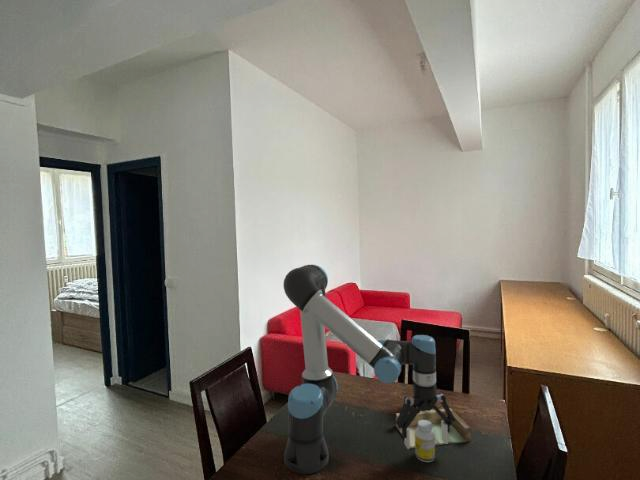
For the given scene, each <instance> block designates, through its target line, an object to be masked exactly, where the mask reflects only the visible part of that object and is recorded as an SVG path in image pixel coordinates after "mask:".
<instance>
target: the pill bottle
mask: <svg viewBox="0 0 640 480" xmlns="http://www.w3.org/2000/svg"><path fill="white" fill-rule="evenodd" d="M414 449H415V450H414V455H415V457H416V458H417V459H418V460H419V461H420V462H424V463H431V462H433V461H434V460H435V458H436V445H435V433H434V431H433V430H432V423H431V422H429V421H427V420H420V421H418V428H417V429H416V430H415V448H414Z"/></svg>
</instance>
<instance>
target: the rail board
mask: <svg viewBox="0 0 640 480" xmlns="http://www.w3.org/2000/svg"><path fill="white" fill-rule="evenodd" d="M438 409H439V410H440V411H441V412H442V413H443V414H444V415H445V416H446V417H448V415H447V414H446V412H445V410H444V408H438ZM449 409H450V411H451V412H452V414H453V416H454V418H455V421H454V422H453V421H452V422H451V425H450V432H449V433H448V444H447V445H449V444H451V445H452V444H458V443H467V442H471V439H472V438H471V437H472V436H471V432H472V431H471V427H470V426H469V425H468V424H467V422H466V421H465V420H464V419H462V418H461V417H460V416H459V415H458V414H457V413H456V412H455V411H454V410H453V409H452V408H450V407H449ZM409 412H410V411H409ZM409 412H408V413H409ZM399 414H400V412H398V413H395V422H396V421H397V419H398V416H399ZM420 420H427V421H429V422H431V423H432V430H433V431H434V433H435V446H441V445H442V446H443V445H446V444H445V442H444V441H443V440H442V427H441V421H444V420H443V418H442V417H441V416H440V415H439V414H438V413H437V412H436V411H435V410H434V409H432V410H430V411H428V410H426V411H420V413H419V414H417V415H416V417H415V418H414V419H413V421H412V422H411V424H410V425H409V426H408V429H409V436H410V449H415V430H416V429H417V428H418V421H420ZM395 426H396V428H397V430H398V431H399V433H400V435H402V428H399V427H398V426H397V424H396V423H395Z"/></svg>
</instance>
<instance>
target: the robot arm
mask: <svg viewBox="0 0 640 480" xmlns="http://www.w3.org/2000/svg"><path fill="white" fill-rule="evenodd" d="M328 283H329V277H328V274H327V272H326V271H325V270H324V268H323V267H321V266H319V265H316V264H305V265H302V266H299V267H295V268H293V269H291V270H290V271H288V272H287V274H286V275H285V277H284V279H283V290H284V294H285V296H286V297H287V298H288V300H289V301H290V302H291V303H292V304H293V305H294V306H295V307H296V308H297V309H298V310H299V312H300V323H301V324H300V325H301V334H302V336H301V337H302V346H303V356H304V358H303V359H304V365H305V367H304V368H305V369H304V370H303V371H302V373H301V377H302V378H301V379H302V383H301V384H300V385H296V386H295V387H294V388H292V389H291V391H290V392H289V394H288V397H287V398H288V401H287V410H288V412H287V413H288V415H287V416H288V419H287V420H288V439H287V442H286V447H285V449H284V452H283V459H284V464H285V467H286V468H287V469H288V470H289V471H291V472H293V473H296V474H299V475H310V474H311V475H312V474H314V473H317V472H320V471H322V470H324V468H325V467H327V465H328V463H329V460H330V459H329V455H330V453H329V449H328V445H327V443H326V440H325V437H324V416H325V414H326V413H327V412H328V411H329V408H330V407H331V405H332V403H333V402H334V401H335V399H336V397H337V394H338V388H339V386H338V381H337V379H336V377H335V376H334V373H333V369H331V368H330V367H329V363H328V362H329V361H328V352H327V342H326V331H325V330H326V329H327V330H328V331H329V332H330V333H331V334H333V335H334V336H335V337H336V338H337V339H339V340H340V341H341V342H342V343H343V344H344V345H346V346H347V348H349V349H350V350H352V351H353V352H354V353H355V354H357V356H359V358H361V359H362V360H363V361H364V362H366V363H367V364H368V365H369V366H370V367H371V368H372V369H373V370H374V375H375V377H376V378H377V379H378V381H380V382H382V383H383V384H392V383H394V382H396V380H398V378H399V376H400V375H401V372H402V366H403V365H412V375H413V380H412V390H413V397H408V396H405V397H404V399H403V401H404V402H403V404H402V407H401V409H400V412H399V413H400V414H399V416H398V419H397V421H396V420H395V425H396V424H397V426H398V427H399V428H402V434H401V436H402V438H403V440H404V442H403V443H404V446H405V447H406V449H407V450H410V449H411V448H410V436H409V429H408V426H409V425H410V424H411V422H412V421H413V419H414V418H415V417H416V415H417V414H419V413H420V411H426V410H428V411H430V410H431V409H432V408H433V409H432V410H435V411H436V412H437V413H438V414H439V415H440V416H441V417H442V418H443V420H444V421H441V427H442V440H443V441H444V442H445V444H444V445H449V444H448V433H449V432H450V425H451V422H452V421H453V422H454V421H455V418H454V416H453V414H452V412H451V411H450V409H449V408H450V407H449V405H448V402H447V399H446V395H444V394H443V393H442V392H439V394H438V393H437V355H436V354H437V353H436V352H437V349H436V341H435V339H434V338H433V337H432V336H429V335H428V334H426V335H425V334H416V335H413V336H412V338H411V341H406V340H397V339H396V340H395V339H394V340H393V339H379V340H378V339H376V338H375V337H374V336H373V335H372V334H370V333H369V332H368V331H366V329H365V328H363V327H362V326H361V325H360V324H358V323H357V322H356V321H355V320H354V319H353V318H351V317H350V316H349V315H348V314H347V313H346V312H344V311H343V310H341V308H339V307H338V306H337V305H335V304H334V303H333V302H332V301H331V300H330V299H329V298H327V295H326V288H327V286H328ZM413 381H414V382H413ZM437 402H440V404H441V406H442V409H444V410H445V412H446V414H447V415H448V417H446V416H445V415H444V414H443V413H442V412H441V411H440V410H439V409H440V408H438V406H437V405H436V404H437ZM416 407H418V408H416ZM408 412H409V413H408Z"/></svg>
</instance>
